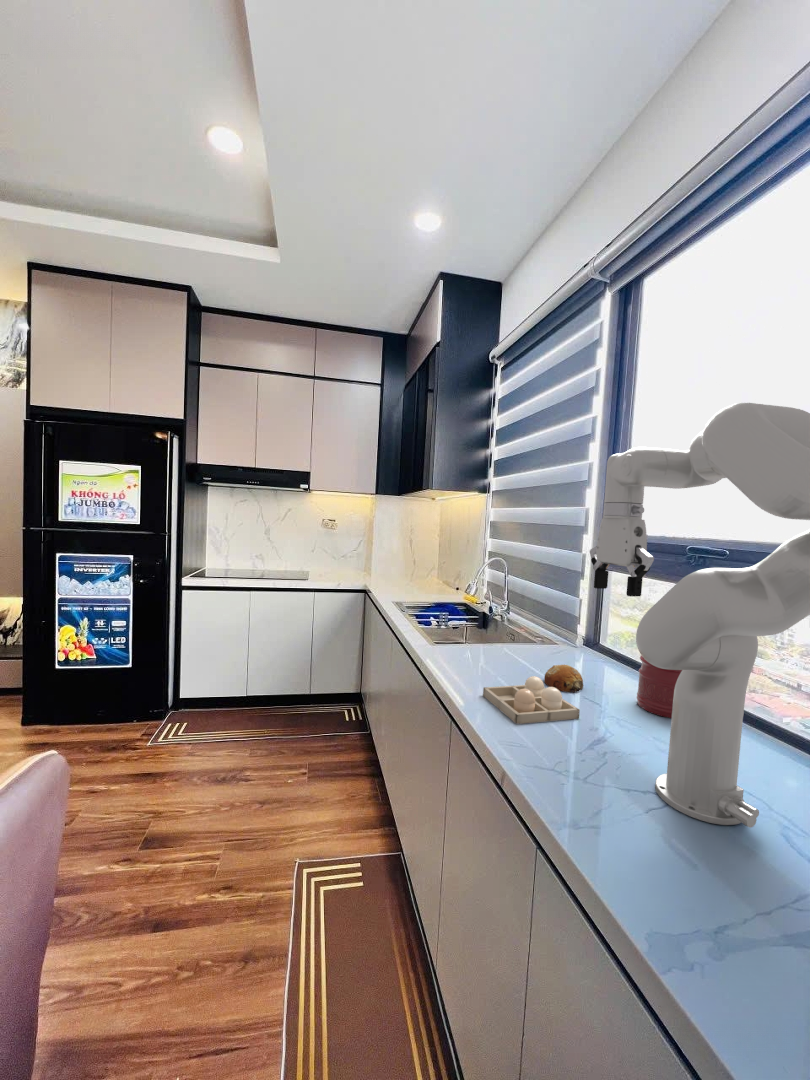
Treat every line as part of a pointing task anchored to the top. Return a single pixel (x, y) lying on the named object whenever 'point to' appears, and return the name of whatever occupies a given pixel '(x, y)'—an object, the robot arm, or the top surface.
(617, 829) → the top surface
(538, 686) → the pale egg
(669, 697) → the canister
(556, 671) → the bread roll
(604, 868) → the top surface
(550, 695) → the pale egg
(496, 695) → the egg tray
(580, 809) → the top surface
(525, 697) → the brown egg
